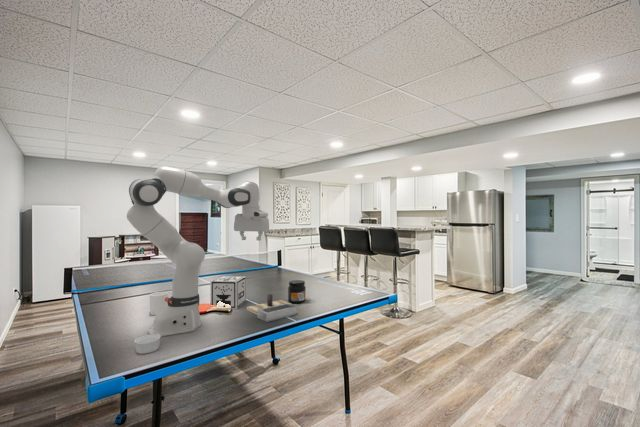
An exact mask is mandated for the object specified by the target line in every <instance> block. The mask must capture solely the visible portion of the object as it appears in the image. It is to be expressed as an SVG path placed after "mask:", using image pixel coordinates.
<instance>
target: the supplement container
mask: <svg viewBox="0 0 640 427" xmlns="http://www.w3.org/2000/svg"><path fill="white" fill-rule="evenodd" d="M305 285H306V282H305V280H302V279H293V280H289V281H288V287H287V302H288V303H291V304H294V305H296V304H297V305H299V304H303V303H305V302H306V301H307V300H306V298H307V297H306V294H307V293H306V289H307V287H306V286H305Z"/></svg>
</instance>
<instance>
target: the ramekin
mask: <svg viewBox="0 0 640 427" xmlns="http://www.w3.org/2000/svg"><path fill="white" fill-rule="evenodd" d="M161 338H162V337H161V336H160V335H158V334H150V335H149V334H146V335H142V336H139V337H137V338H135V339H134V340H133V341H134V346H135V347H134V348H135V352H136V354H140V355H141V354H142V355H143V354H144V355H145V354H149V353H154V352H155V351H157V350H158V349H159V348H160V345H161Z"/></svg>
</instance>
